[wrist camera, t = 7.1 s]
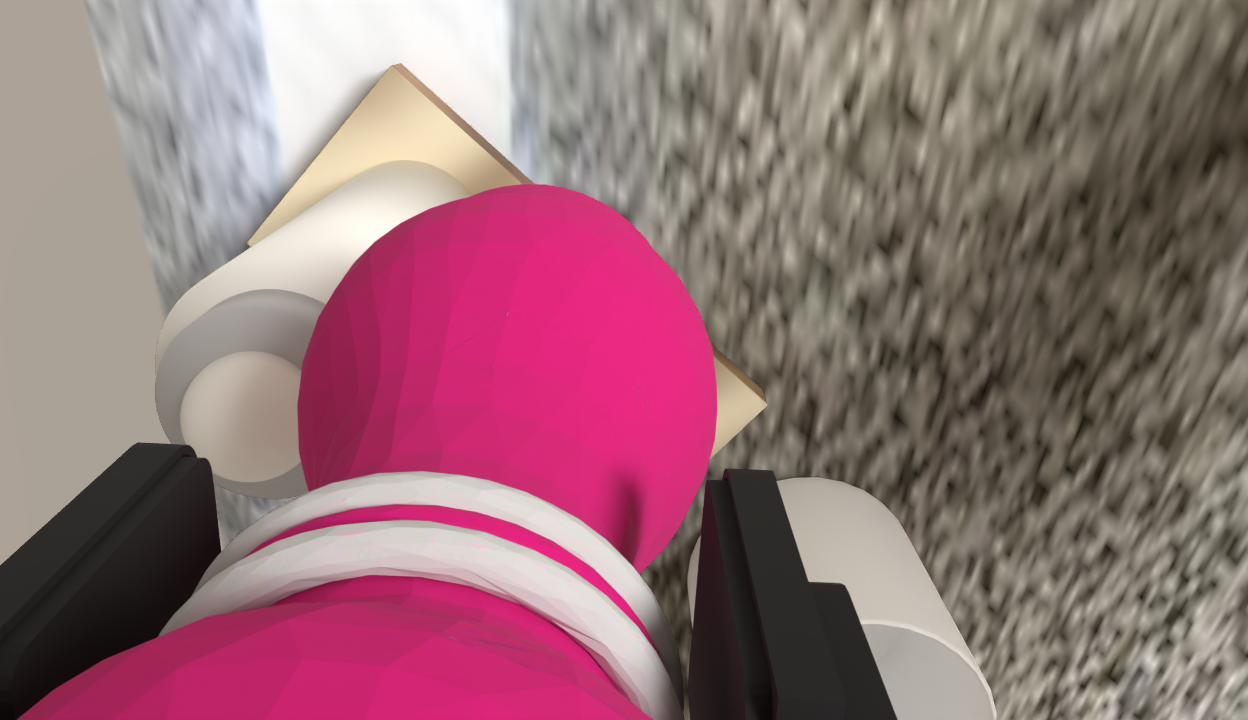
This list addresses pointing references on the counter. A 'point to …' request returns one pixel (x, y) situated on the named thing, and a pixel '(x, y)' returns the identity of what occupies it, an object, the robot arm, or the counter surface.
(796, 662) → the robot arm
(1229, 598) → the counter surface
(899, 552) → the cup
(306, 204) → the wooden divided tray
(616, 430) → the pepper mill
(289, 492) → the salt mill
